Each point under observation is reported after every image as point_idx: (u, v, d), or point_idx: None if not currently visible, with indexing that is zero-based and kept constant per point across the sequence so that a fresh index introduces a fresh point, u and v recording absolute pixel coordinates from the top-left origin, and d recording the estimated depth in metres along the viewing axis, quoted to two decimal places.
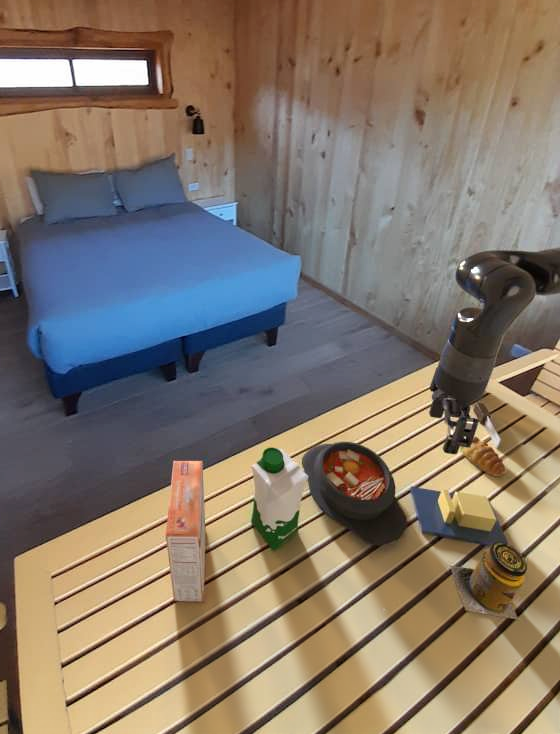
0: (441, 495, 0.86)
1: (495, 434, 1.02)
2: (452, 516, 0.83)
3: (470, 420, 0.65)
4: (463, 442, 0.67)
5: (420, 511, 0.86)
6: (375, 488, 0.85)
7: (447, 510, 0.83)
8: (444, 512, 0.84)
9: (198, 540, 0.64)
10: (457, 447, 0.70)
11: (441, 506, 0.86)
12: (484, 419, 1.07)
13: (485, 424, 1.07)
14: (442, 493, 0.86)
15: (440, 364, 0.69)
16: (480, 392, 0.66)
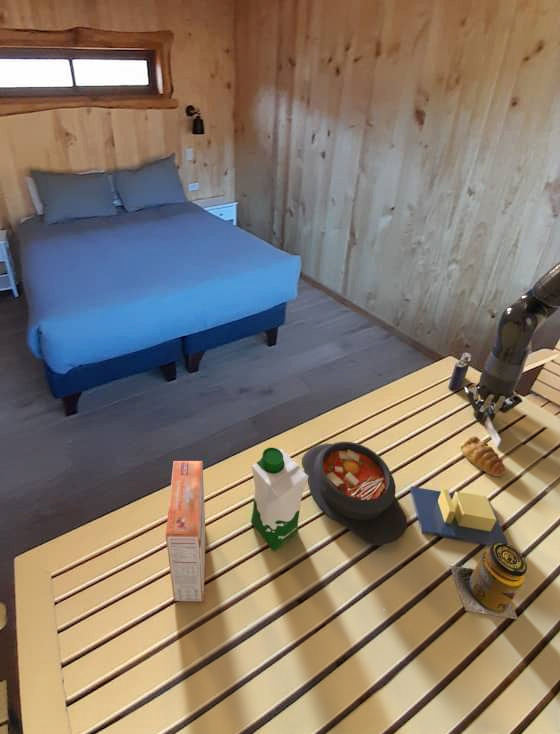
0: (441, 495, 0.86)
1: (495, 434, 1.02)
2: (452, 516, 0.83)
3: (466, 390, 1.06)
4: None
5: (420, 511, 0.86)
6: (375, 488, 0.85)
7: (447, 510, 0.83)
8: (444, 512, 0.84)
9: (198, 540, 0.64)
10: (476, 412, 1.08)
11: (441, 506, 0.86)
12: (484, 419, 1.07)
13: (485, 424, 1.07)
14: (442, 493, 0.86)
15: None
16: (488, 381, 1.01)
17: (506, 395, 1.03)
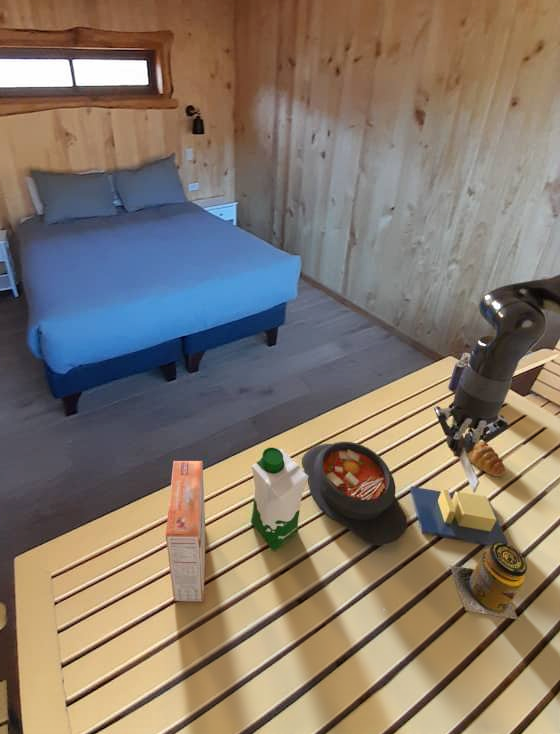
0: (441, 495, 0.86)
1: (472, 473, 0.78)
2: (452, 516, 0.83)
3: (436, 412, 0.82)
4: None
5: (420, 511, 0.86)
6: (375, 488, 0.85)
7: (447, 510, 0.83)
8: (444, 512, 0.84)
9: (198, 540, 0.64)
10: (449, 440, 0.84)
11: (441, 506, 0.86)
12: (459, 451, 0.83)
13: (460, 458, 0.83)
14: (442, 493, 0.86)
15: None
16: (464, 401, 0.77)
17: (488, 419, 0.79)
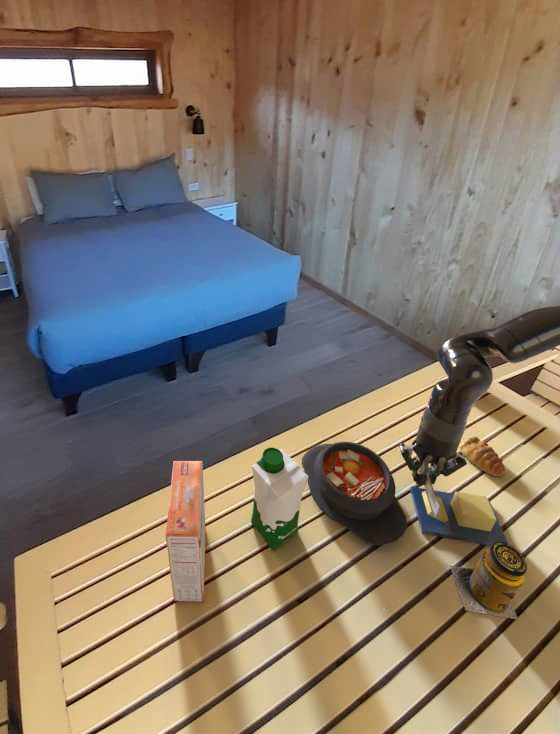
0: None
1: (434, 499, 0.83)
2: None
3: (401, 448, 0.87)
4: None
5: (420, 511, 0.86)
6: (375, 488, 0.85)
7: None
8: None
9: (198, 540, 0.64)
10: (414, 474, 0.90)
11: None
12: (424, 479, 0.88)
13: (425, 485, 0.88)
14: None
15: None
16: (424, 440, 0.83)
17: (447, 456, 0.84)
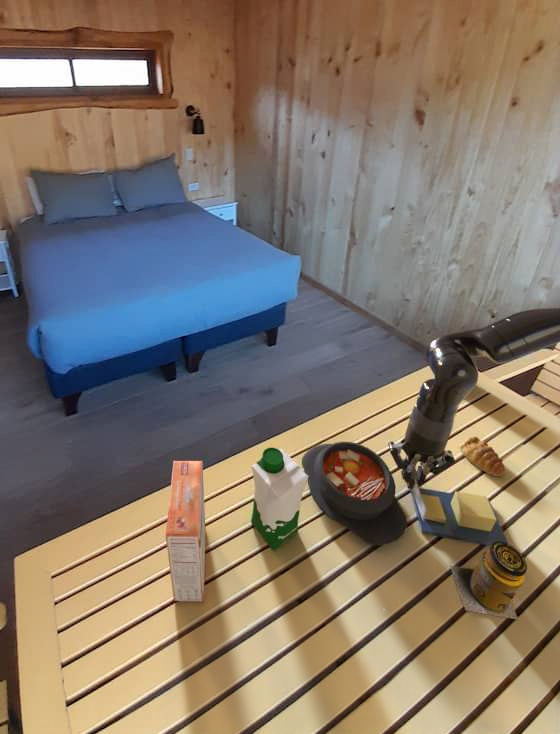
0: None
1: (421, 502, 0.84)
2: (432, 518, 0.84)
3: (390, 447, 0.88)
4: None
5: None
6: (375, 488, 0.85)
7: None
8: None
9: (198, 540, 0.64)
10: (403, 472, 0.90)
11: None
12: (412, 483, 0.90)
13: (413, 489, 0.89)
14: None
15: None
16: (412, 439, 0.83)
17: (436, 455, 0.85)
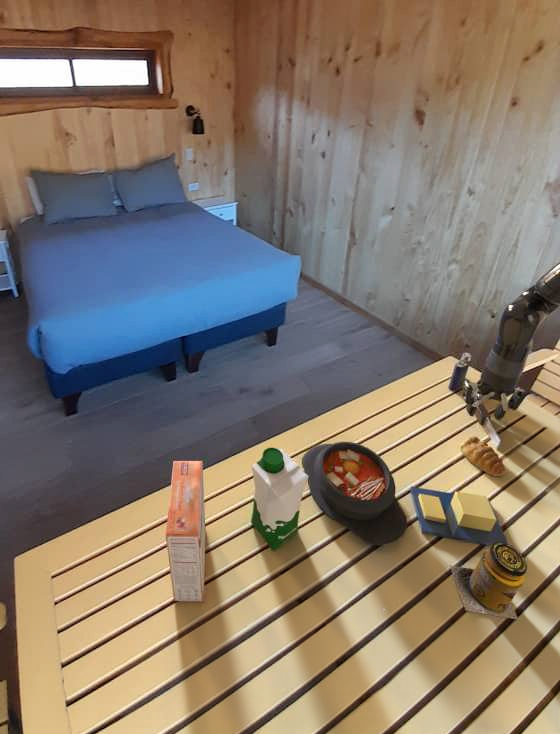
0: None
1: (495, 435, 1.02)
2: (432, 518, 0.84)
3: (467, 384, 1.05)
4: None
5: (420, 511, 0.86)
6: (375, 488, 0.85)
7: None
8: None
9: (198, 540, 0.64)
10: (469, 407, 1.08)
11: None
12: (484, 420, 1.07)
13: (485, 425, 1.07)
14: None
15: None
16: (489, 378, 1.01)
17: (507, 392, 1.03)
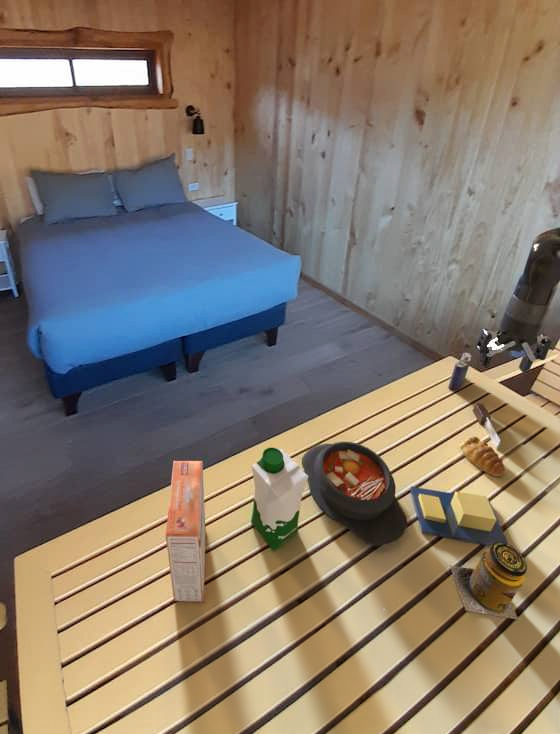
0: None
1: (495, 435, 1.02)
2: (432, 518, 0.84)
3: (486, 332, 0.98)
4: (479, 347, 1.00)
5: (420, 511, 0.86)
6: (375, 488, 0.85)
7: None
8: None
9: (198, 540, 0.64)
10: (483, 358, 1.01)
11: None
12: (484, 420, 1.07)
13: (485, 425, 1.07)
14: None
15: None
16: (510, 326, 0.94)
17: (529, 342, 0.95)
